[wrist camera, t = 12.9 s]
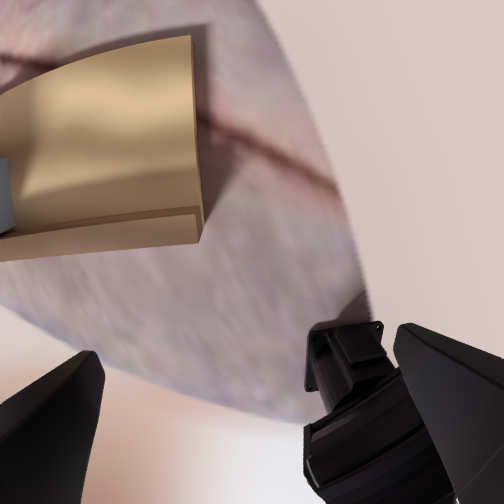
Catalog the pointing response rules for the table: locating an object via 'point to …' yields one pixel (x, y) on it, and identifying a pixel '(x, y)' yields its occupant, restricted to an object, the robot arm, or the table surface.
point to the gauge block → (5, 198)
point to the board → (104, 154)
